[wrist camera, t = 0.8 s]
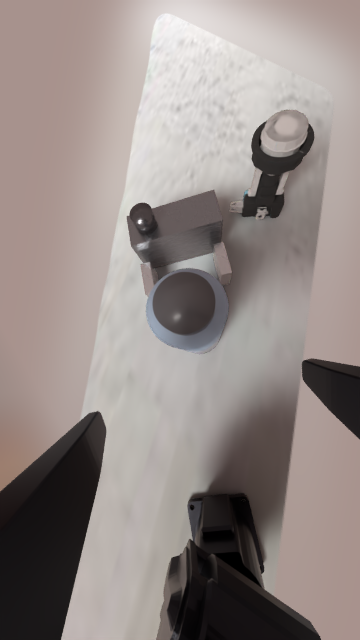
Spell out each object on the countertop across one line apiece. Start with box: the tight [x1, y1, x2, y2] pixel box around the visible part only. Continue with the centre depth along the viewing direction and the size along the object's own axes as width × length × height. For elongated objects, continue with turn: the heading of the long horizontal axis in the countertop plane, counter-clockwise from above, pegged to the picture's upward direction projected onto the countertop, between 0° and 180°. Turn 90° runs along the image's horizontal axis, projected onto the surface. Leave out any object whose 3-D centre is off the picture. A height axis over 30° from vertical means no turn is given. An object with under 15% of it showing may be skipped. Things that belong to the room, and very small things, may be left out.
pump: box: [146, 268, 229, 354], centre depth 18 cm, size 5×5×14 cm
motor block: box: [127, 190, 232, 297], centre depth 23 cm, size 9×10×8 cm
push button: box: [230, 110, 314, 220], centre depth 22 cm, size 7×5×10 cm
